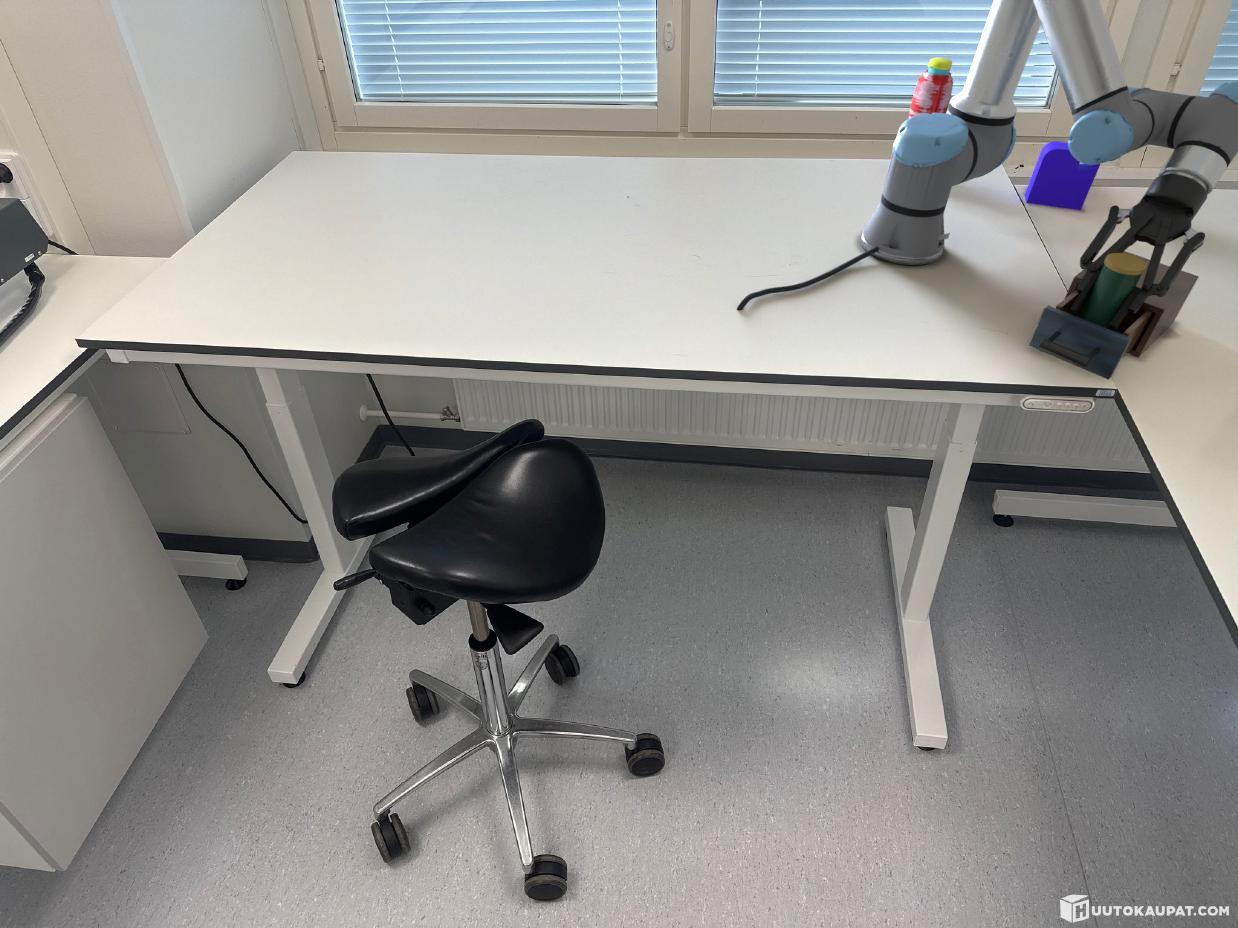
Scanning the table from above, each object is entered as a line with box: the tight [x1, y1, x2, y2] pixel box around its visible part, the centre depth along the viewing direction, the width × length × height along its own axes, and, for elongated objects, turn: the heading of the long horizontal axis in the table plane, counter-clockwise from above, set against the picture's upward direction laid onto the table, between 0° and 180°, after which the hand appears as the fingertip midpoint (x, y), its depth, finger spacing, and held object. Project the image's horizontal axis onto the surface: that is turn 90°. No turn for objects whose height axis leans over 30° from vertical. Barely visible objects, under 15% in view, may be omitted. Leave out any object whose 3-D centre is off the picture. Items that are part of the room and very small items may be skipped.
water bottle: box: [908, 57, 954, 119], centre depth 173 cm, size 12×8×25 cm, turn 176°
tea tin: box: [1079, 253, 1147, 329], centre depth 122 cm, size 6×6×12 cm
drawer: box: [1028, 290, 1155, 381], centre depth 124 cm, size 20×13×7 cm, turn 134°
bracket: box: [1024, 140, 1101, 211], centre depth 173 cm, size 18×11×12 cm, turn 163°
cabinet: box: [1064, 250, 1200, 359], centre depth 132 cm, size 16×14×9 cm
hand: (1092, 320), depth 122 cm, fingers closed on tea tin, 5 cm apart
